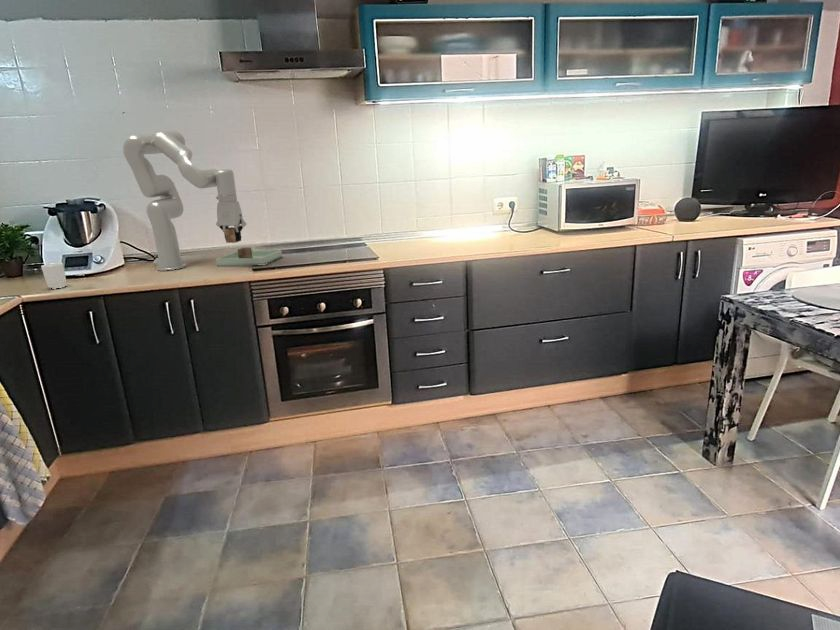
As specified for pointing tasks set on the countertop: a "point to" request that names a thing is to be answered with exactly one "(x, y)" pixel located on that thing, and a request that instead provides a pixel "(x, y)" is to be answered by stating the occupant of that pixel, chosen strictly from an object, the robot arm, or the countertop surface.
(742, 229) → the countertop surface
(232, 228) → the oak block
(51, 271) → the white cup
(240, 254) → the walnut block
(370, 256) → the countertop surface
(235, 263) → the tray
